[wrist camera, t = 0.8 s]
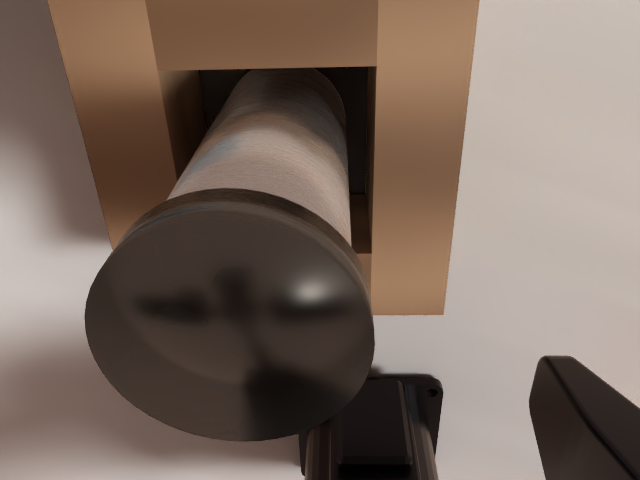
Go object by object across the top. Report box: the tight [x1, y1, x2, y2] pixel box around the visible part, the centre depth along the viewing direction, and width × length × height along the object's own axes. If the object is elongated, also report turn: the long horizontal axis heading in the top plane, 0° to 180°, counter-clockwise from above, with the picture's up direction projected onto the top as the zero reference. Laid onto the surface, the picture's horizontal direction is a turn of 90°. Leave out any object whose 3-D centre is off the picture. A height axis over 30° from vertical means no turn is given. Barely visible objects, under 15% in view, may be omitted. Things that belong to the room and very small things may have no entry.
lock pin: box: [85, 68, 375, 441], centre depth 13 cm, size 5×5×11 cm
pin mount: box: [47, 0, 479, 315], centre depth 16 cm, size 10×10×4 cm
